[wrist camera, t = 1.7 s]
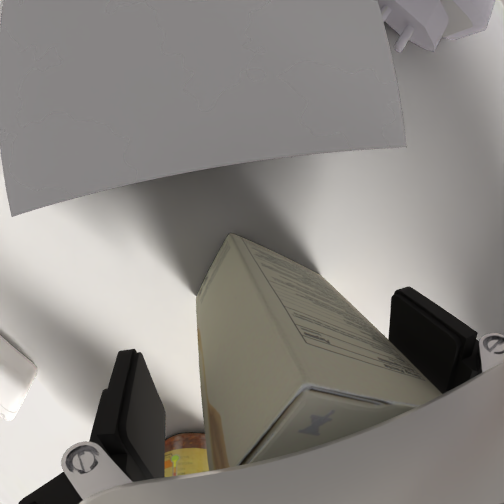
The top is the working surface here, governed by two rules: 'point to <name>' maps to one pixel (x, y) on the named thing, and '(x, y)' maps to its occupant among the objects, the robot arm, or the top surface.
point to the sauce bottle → (185, 454)
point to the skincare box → (290, 360)
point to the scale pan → (184, 89)
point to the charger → (434, 20)
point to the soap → (13, 379)
